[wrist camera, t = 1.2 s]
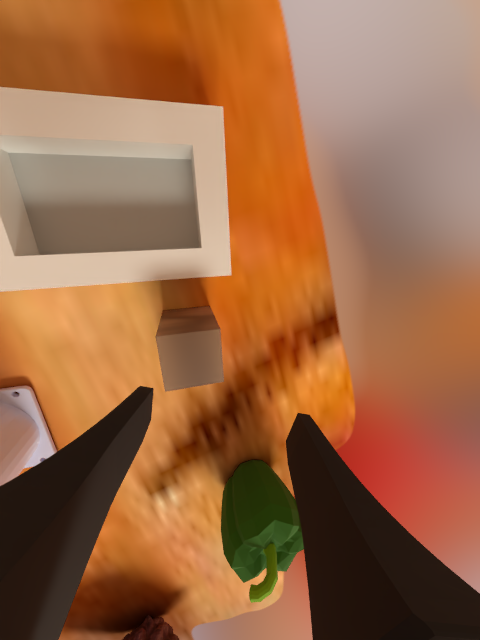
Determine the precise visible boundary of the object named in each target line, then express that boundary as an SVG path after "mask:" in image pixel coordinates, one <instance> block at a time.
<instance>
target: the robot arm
mask: <svg viewBox="0 0 480 640" xmlns="http://www.w3.org/2000/svg"><path fill="white" fill-rule="evenodd" d="M15 392H18V393H19V394H16V393H15ZM152 400H153V388H149V387H143V386H140V387H138V388H137V389H136V390H135V391H134V392H133V393H132V394H131V395H130V396H128V397H127V398H126V399H125V400H124V401H123V402H122V403H121V404H119V405H118V406H117V407H116V408H115V409H114V410H112V411H111V412H110V413H109V414H108V415H106V416H105V417H104V418H103V419H102V420H100V421H99V422H98V423H97V424H95V425H94V426H93V427H91V428H90V429H89V430H87V431H86V432H85V433H83V434H82V435H81V436H79V437H78V438H77V439H75V440H74V441H72V442H71V443H70V444H68V445H67V446H65V447H64V448H62V449H61V450H59V451H58V452H57V450H56V448H55V445H54V442H53V440H52V437H51V435H50V432H49V430H48V427H47V425H46V422H45V420H44V417H43V415H42V412H41V409H40V407H39V404H38V402H37V399H36V397H35V394H34V392H33V389H32V388H31V387H29V386H17V387H10V388H3V389H0V640H58V639H59V637H60V634H61V631H62V628H63V626H64V623H65V620H66V618H67V615H68V612H69V610H70V607H71V604H72V602H73V599H74V597H75V594H76V591H77V589H78V586H79V584H80V581H81V578H82V576H83V573H84V571H85V568H86V566H87V563H88V560H89V558H90V555H91V553H92V550H93V548H94V545H95V543H96V540H97V538H98V535H99V533H100V531H101V528H102V526H103V523H104V521H105V518H106V516H107V514H108V511H109V509H110V506H111V504H112V502H113V500H114V498H115V495H116V493H117V491H118V489H119V487H120V485H121V483H122V481H123V479H124V477H125V475H126V473H127V471H128V469H129V467H130V466H131V464H132V462H133V460H134V458H135V456H136V454H137V452H138V450H139V448H140V446H141V444H142V442H143V439H144V437H145V434H146V431H147V429H148V426H149V423H150V421H151V413H152ZM286 448H287V458H288V466H289V471H290V476H291V480H292V485H293V490H294V495H295V499H296V504H297V509H298V513H299V518H300V524H301V530H302V538H303V545H304V553H305V561H306V571H307V580H308V588H309V600H310V610H311V622H312V635H313V640H480V594H479V593H478V592H477V591H476V590H474V589H473V588H472V587H471V586H470V585H468V584H467V583H466V582H465V581H464V580H462V579H461V578H460V577H459V576H458V575H456V574H455V573H454V572H452V571H451V570H450V569H449V568H448V567H447V566H445V565H444V564H443V563H442V562H441V561H440V560H439V559H437V558H436V557H435V556H434V555H433V554H432V553H431V552H430V551H428V550H427V549H426V548H425V547H424V546H423V545H422V544H421V543H420V542H419V541H417V540H416V539H415V538H414V537H413V536H412V535H411V534H410V533H409V532H408V531H407V530H406V529H405V528H404V527H403V526H401V524H400V523H399V522H398V521H397V520H396V519H395V518H394V517H393V516H391V514H390V513H389V512H387V510H386V509H385V508H384V507H383V506H382V505H381V504H380V503H379V502H378V501H377V500H376V499H375V498H374V496H373V495H372V494H371V493H370V492H369V491H368V490H367V489H366V488H365V487H364V485H363V484H361V482H360V481H359V480H358V478H357V477H356V476H355V475H354V474H353V472H352V471H351V470H350V469H349V468H348V466H347V465H346V464H345V462H344V461H343V460H342V459H341V457H340V456H339V455H338V453H337V452H336V451H335V449H334V448H333V447H332V445H331V444H330V443H329V441H328V440H327V438H326V437H325V436H324V434H323V433H322V432H321V430H320V429H319V427H318V426H317V425H316V423H315V422H314V420H313V419H312V418H311V416H310V415H307V414H301V413H298V414H297V416H296V419H295V421H294V423H293V426H292V428H291V430H290V433H289V435H288V437H287V440H286ZM32 466H34V467H33V468H31V469H29V470H28V471H26V472H24V473H23V474H21V475H19V474H20V472H21V471H22V470H23V468H28V467H32ZM18 475H19V476H18Z"/></svg>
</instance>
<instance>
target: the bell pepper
mask: <svg viewBox="0 0 480 640" xmlns="http://www.w3.org/2000/svg"><path fill="white" fill-rule="evenodd" d="M221 534H222V542H223V550H224V555H225V557H226V559H227V561H228V562H229V564H230V566H231V568H232V569H233V570H234V571H235V572H236V574H237V575H238V576H239V577H240V579H241V580H242V581H243V583H244V582H246V581H248V580H251V579H253V578H255V577H257V576H258V575H259V574H260V573H261V572H262V571H263V570H264V569H265V568H267V575H266V577H265V579H264V581H263V582H261V583H260V584H258V585H251V587H250V592H249V597H250V601H251V602H261V601H262V600H263V599H264V598H266V597H267V596H268V595H270V594H271V593H272V591H273V588H274V586H275V584H276V582H277V580H278V575H277V571H287V569H288V568H289V566H290V564H291V562H292V561H293V558H294V557H295V555H296V554H297V552H299V551H301V550H303V549H304V545H303V538H302V530H301V524H300V518H299V513H298V509H297V504H296V500H295V499H294V497H293V496H292V494H291V493H290V491H289V490H288V488H287V487H286V486H285V484H284V483H283V482H282V480H281V479H280V478H279V477H278V475H276V473H275V472H274V471H273V469H272V468H270V467H269V466H268V465H267V464H266V463H265V462H263V461H262V460H250V461H247V462H245V463H242V464H240V465H239V467H238V468H237V469H236V470H235V471H234V475H233V476H232V477H231V478H229V480H228V481H227V483H226V485H225V488H224V491H223V499H222V515H221Z"/></svg>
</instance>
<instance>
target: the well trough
mask: <svg viewBox="0 0 480 640" xmlns="http://www.w3.org/2000/svg"><path fill="white" fill-rule="evenodd" d="M227 275H231V257H230V237H229V217H228V197H227V177H226V157H225V136H224V116H223V107H222V106H211V105H200V104H188V103H177V102H166V101H154V100H143V99H132V98H121V97H109V96H98V95H87V94H75V93H64V92H53V91H41V90H30V89H19V88H8V87H0V292H2V291H16V290H30V289H44V288H58V287H72V286H86V285H100V284H114V283H128V282H142V281H156V280H170V279H184V278H198V277H213V276H227Z"/></svg>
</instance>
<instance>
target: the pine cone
mask: <svg viewBox="0 0 480 640" xmlns="http://www.w3.org/2000/svg"><path fill="white" fill-rule="evenodd" d="M123 640H179V638H178V636H176V635H175V634H173V629H172V627H171V626H170V625H169V624H167V623H166V622H164V619H163V618H162V617H157V618H154V619H152V618H151V617H150V615H148V616H147V617H146V618H145V620H144V622H143V624H140V625H139V627H138V628H135V629H134V630H133V631H132V632H131V633H130V634H129V633H128V634H127V635H126V636H125V637H124V639H123Z"/></svg>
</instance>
